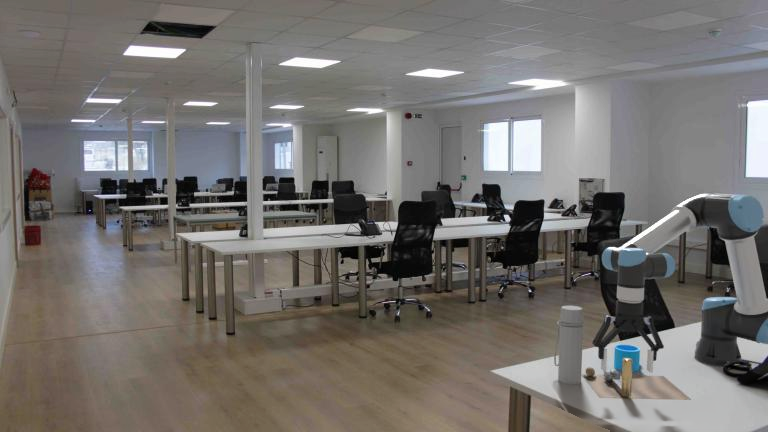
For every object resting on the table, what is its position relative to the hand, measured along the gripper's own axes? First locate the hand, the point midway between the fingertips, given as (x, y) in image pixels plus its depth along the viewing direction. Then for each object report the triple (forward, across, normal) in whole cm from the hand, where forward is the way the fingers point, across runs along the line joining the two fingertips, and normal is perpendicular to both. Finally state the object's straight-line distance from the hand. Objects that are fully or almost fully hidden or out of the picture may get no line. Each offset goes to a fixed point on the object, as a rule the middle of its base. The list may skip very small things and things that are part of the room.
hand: (626, 370), depth 191 cm
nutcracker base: (+9, -6, -10) cm, 15 cm away
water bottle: (+10, +14, -15) cm, 23 cm away
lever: (+8, 0, -9) cm, 12 cm away
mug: (+10, -11, -30) cm, 34 cm away
